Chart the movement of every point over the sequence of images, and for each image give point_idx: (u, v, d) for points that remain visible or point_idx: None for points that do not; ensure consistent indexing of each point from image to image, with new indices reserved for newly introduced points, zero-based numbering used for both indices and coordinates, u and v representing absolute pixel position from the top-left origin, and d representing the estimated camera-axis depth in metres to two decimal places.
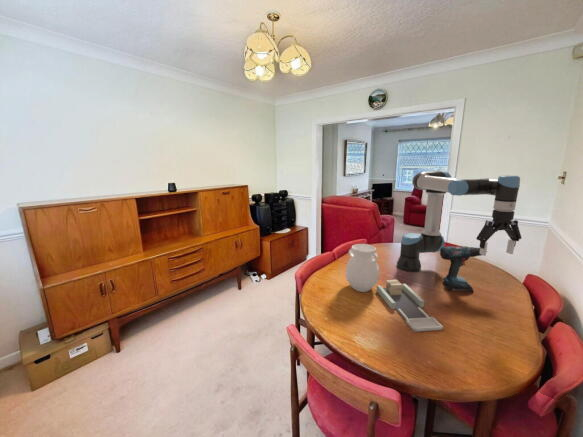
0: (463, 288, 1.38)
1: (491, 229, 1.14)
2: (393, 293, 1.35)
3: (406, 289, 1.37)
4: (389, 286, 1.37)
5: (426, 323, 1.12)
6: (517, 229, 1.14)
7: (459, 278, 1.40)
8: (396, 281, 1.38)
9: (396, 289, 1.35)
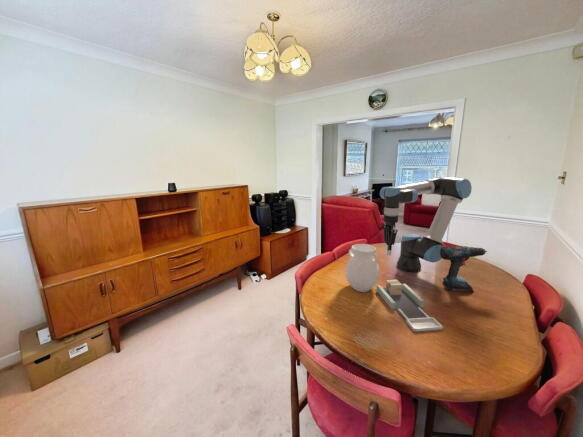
0: (463, 288, 1.38)
1: None
2: (393, 293, 1.35)
3: (406, 289, 1.37)
4: (389, 286, 1.37)
5: (426, 323, 1.12)
6: (391, 236, 1.36)
7: (459, 278, 1.40)
8: (396, 281, 1.38)
9: (396, 289, 1.35)
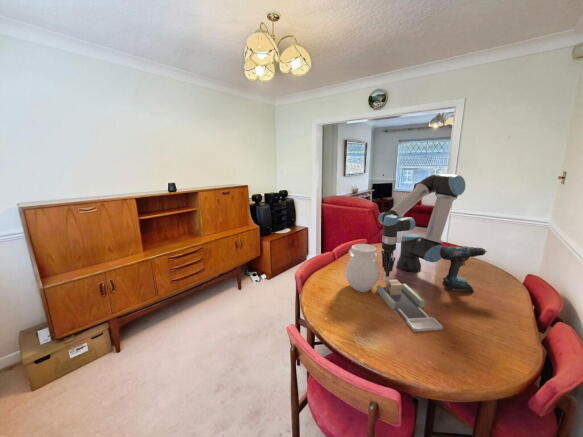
0: (463, 288, 1.38)
1: None
2: (393, 293, 1.35)
3: (406, 289, 1.37)
4: (389, 286, 1.37)
5: (426, 323, 1.12)
6: (389, 263, 1.40)
7: (459, 278, 1.40)
8: (396, 281, 1.38)
9: (396, 289, 1.35)
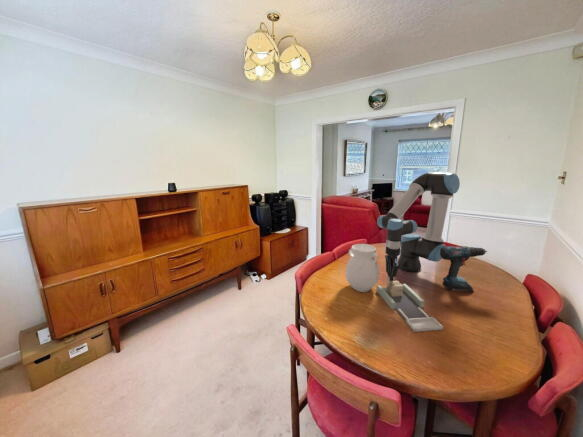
0: (463, 288, 1.38)
1: None
2: (394, 294, 1.34)
3: (406, 289, 1.37)
4: (389, 287, 1.36)
5: (426, 323, 1.12)
6: (392, 269, 1.35)
7: (459, 278, 1.40)
8: (397, 282, 1.37)
9: (397, 290, 1.34)
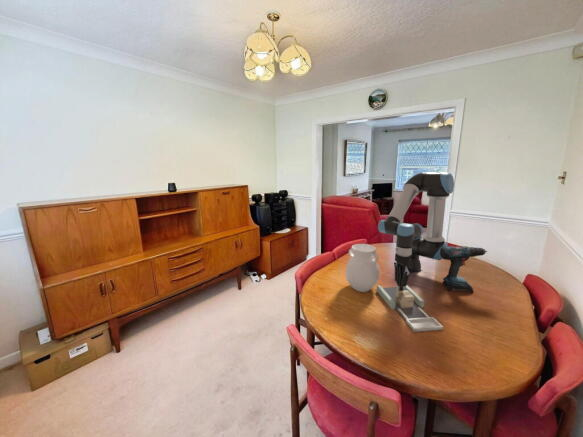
0: (463, 288, 1.38)
1: None
2: (404, 306, 1.24)
3: (406, 289, 1.37)
4: (399, 298, 1.25)
5: (426, 323, 1.12)
6: (403, 278, 1.24)
7: (459, 278, 1.40)
8: (407, 292, 1.26)
9: (408, 301, 1.23)
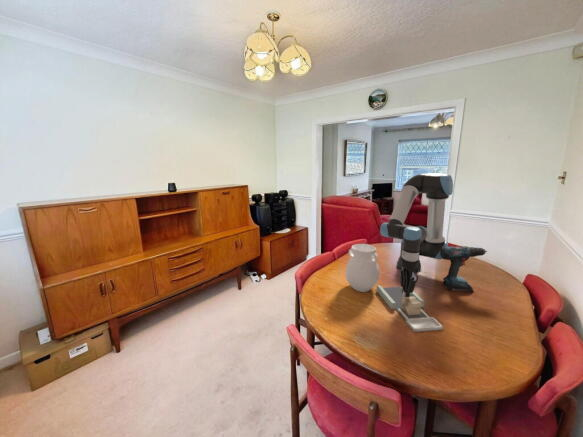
0: (463, 288, 1.38)
1: None
2: (411, 313, 1.18)
3: None
4: (405, 304, 1.20)
5: (426, 323, 1.12)
6: (409, 283, 1.19)
7: (459, 278, 1.40)
8: (414, 298, 1.21)
9: (415, 308, 1.17)
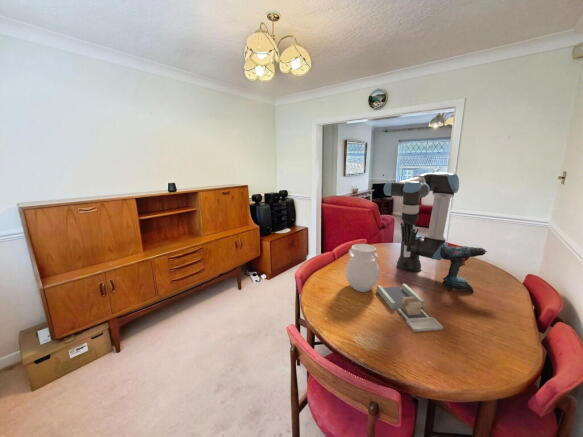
0: (463, 288, 1.38)
1: None
2: (411, 313, 1.18)
3: (406, 289, 1.37)
4: (405, 304, 1.20)
5: (426, 323, 1.12)
6: (410, 236, 1.23)
7: (459, 278, 1.40)
8: (414, 298, 1.21)
9: (415, 308, 1.17)
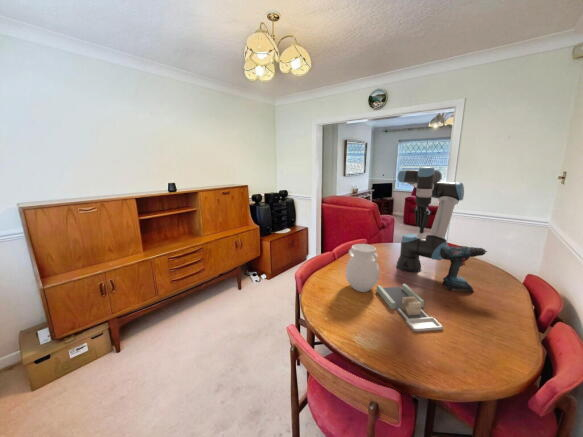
0: (463, 288, 1.38)
1: None
2: (411, 313, 1.18)
3: (406, 289, 1.37)
4: (405, 304, 1.20)
5: (426, 323, 1.12)
6: (424, 218, 1.32)
7: (459, 278, 1.40)
8: (414, 298, 1.21)
9: (415, 308, 1.17)
